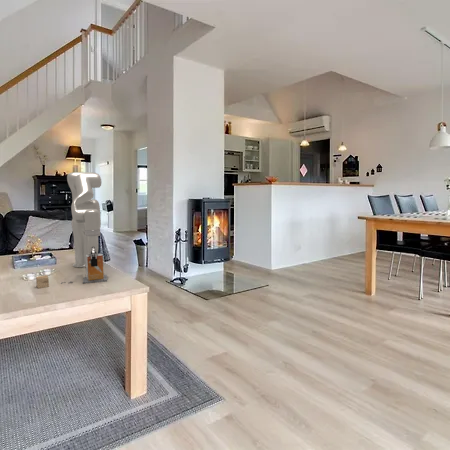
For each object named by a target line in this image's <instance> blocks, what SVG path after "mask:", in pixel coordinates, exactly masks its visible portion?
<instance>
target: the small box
mask: <svg viewBox="0 0 450 450" xmlns="http://www.w3.org/2000/svg"><path fill="white" fill-rule="evenodd" d="M96 256H97V266H94V267H91V255H85V258H86V267H85V273H86V274H85V275H86V276H85V277H87V279H88V281H89V280H97V279H104V275H105V274H104V255H103V254H102V253H98V254H97V255H96Z"/></svg>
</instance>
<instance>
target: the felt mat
mask: <svg viewBox="0 0 450 450" xmlns="http://www.w3.org/2000/svg"><path fill="white" fill-rule="evenodd" d="M103 282H104V283H105V282H108V274H104V279H97V280H89V281H88V279H87V277H86V276H84V277H83V280H82V284H92V283H94V284H95V283H103Z"/></svg>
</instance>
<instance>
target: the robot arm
mask: <svg viewBox="0 0 450 450" xmlns="http://www.w3.org/2000/svg"><path fill="white" fill-rule="evenodd" d="M66 180H67V184H68V187H69V188H70V191H71V195H72V196H71V197H72V198H71V200H72V203H71V207H70V209H71V215H72V216H71V217H72V219H71V221H70V222H71V224H70V225H71V229H72V235H73V247H74V261H75V262H74V263H72V267H74V268H86V258H85V255H91V267H94V266H97V256H96V255H97V254H99V237H100V236H101V226H102V225H101V224H102V223H101V207H100V206H101V205H100V202H99V200H97V199H96V198H94V191H93V189H94V188H95V189H98V188H101V186H102V178H101V175H100V174H99V173H97V172H89V171H87V172H86V171H85V172H84V171H82V172H81V171H80V172H79V171H75V172H69V173H68V174H67V176H66ZM93 198H94V199H93Z"/></svg>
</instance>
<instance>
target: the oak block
mask: <svg viewBox="0 0 450 450" xmlns="http://www.w3.org/2000/svg"><path fill="white" fill-rule="evenodd" d="M35 280H36V281H35V282H36V288H37V289H42V288H49V287H50V283H49V281H50V280H49V276H48V275H41V276H36V277H35Z"/></svg>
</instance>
